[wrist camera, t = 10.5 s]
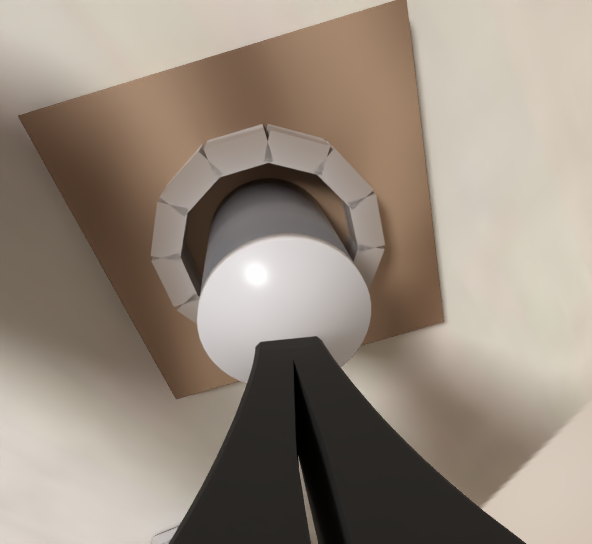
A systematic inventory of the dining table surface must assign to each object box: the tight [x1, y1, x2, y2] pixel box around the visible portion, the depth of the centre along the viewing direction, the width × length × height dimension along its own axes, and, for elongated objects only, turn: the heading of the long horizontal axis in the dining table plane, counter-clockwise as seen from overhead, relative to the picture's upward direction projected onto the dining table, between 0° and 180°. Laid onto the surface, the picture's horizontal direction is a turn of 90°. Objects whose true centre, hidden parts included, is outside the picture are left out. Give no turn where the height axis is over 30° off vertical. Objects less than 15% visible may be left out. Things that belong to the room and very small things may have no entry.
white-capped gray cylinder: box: [197, 178, 371, 384], centre depth 14 cm, size 5×5×6 cm
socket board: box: [18, 0, 444, 399], centre depth 16 cm, size 13×13×2 cm
